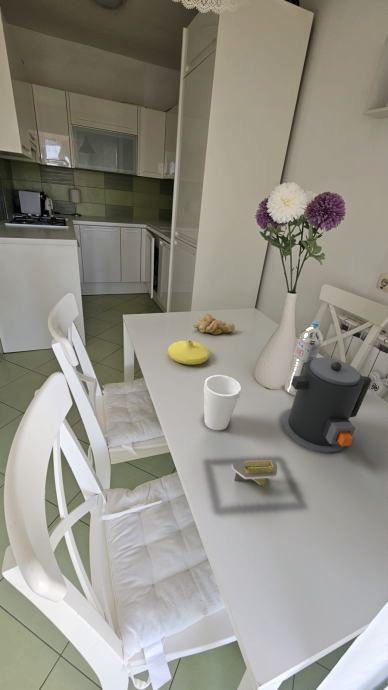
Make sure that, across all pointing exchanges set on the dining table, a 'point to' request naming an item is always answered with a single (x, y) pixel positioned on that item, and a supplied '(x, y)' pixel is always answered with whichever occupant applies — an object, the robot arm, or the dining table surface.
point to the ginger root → (213, 325)
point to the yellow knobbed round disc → (188, 352)
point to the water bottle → (304, 353)
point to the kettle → (324, 403)
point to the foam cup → (220, 400)
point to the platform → (255, 470)
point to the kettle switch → (344, 438)
